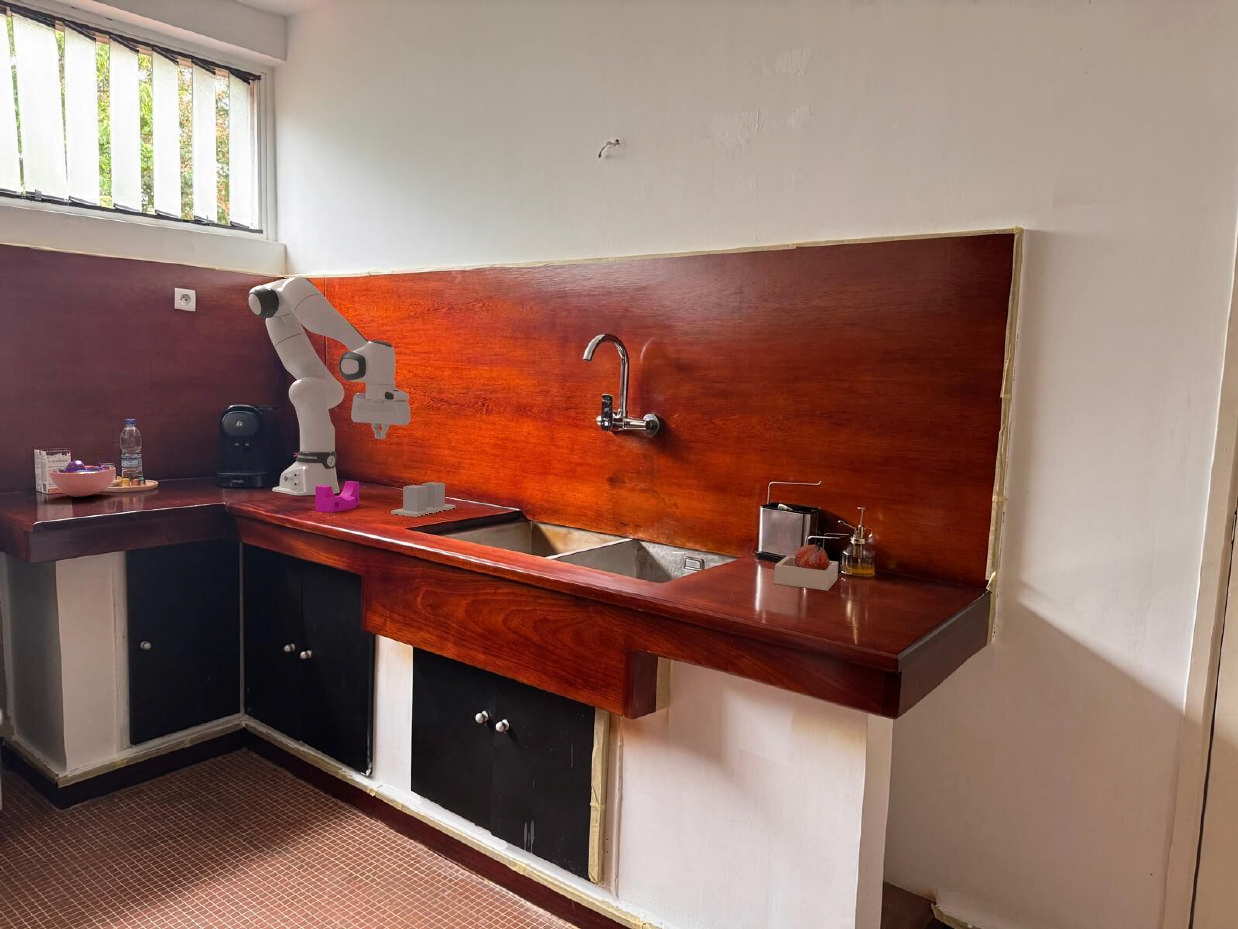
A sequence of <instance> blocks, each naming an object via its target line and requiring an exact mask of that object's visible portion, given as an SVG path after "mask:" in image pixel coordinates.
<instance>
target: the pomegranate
mask: <svg viewBox="0 0 1238 929" xmlns="http://www.w3.org/2000/svg"><path fill="white" fill-rule="evenodd" d="M794 557H795V564H796V566H798V567H801V568H809V569H817V570H826V569H827V568H828V567H829V561H830V560H829V557H828V553H827V552H826V550H825V549H824V548H822V547H821V543H820V542H818V543H817V544H808V545H807V544H806V545H803V546H801V547H800V548H799V549H798V550H797V551H796V553H795V555H794Z"/></svg>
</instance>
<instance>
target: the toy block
mask: <svg viewBox="0 0 1238 929" xmlns="http://www.w3.org/2000/svg"><path fill="white" fill-rule="evenodd" d="M357 505H358V506H359V505H360V482H359V481H352V480H349V481H347V480H346V481H344V487H343V489H342V491H341V492H340V494H339V495H335V494H334V493H333V490H332V486H324V485H320V486H316V495H315V512H319V513H320V512H321V513H329V514H331V513H336V512H342V511H343V512H344V511H348V510H353V508H354V509H356V507H358V506H357Z"/></svg>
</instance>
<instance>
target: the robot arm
mask: <svg viewBox="0 0 1238 929" xmlns="http://www.w3.org/2000/svg"><path fill="white" fill-rule="evenodd" d="M247 302H248V307H249V309H250V311H251V312H252V314H253V315H254V316H256V317H257V318H259V319H265V326H266V328H267V329H266V330H267V333H268V336H269V338H270V341H271V343H272V345H273V347H274V350H275V351H276V353H277V355H278V357H279V358H280V360H281V363H282V365H283V367H284V368H285V369H286V371H287V372H289V373H290V374H291V375H292V376H293V377H294V378H295V379H296V381H294V382H293V383H292V384H291V385H290V387H289V390H288V398H289V400H290V402H291V404H292V405H293V406H294V409H295V412H296V417H297V421H298V426H299V451H298V452H294V453H293V454H295V455H293V457H296V458H295V462H293V463H292V465H290V466H289V467H288V468H287V469H285V470H284V471H282V473H281V475H280V478H279V486H275V487H272V490H271V491H272V492H276V493H281V494H287V495H291V496H316V486H320V485H324V486H332V490H333V493H334V495H335V494H338V493H341V490H340V487H339V483H338V479H337V478H338V476H337V470H336V462H337V451H336V441H335V440H336V437H335V436H336V430H335V429H336V428H335V426H334V424H333V423H332V420H331V416H330V411H329V409H332V408H335V407H336V406H338V405H340V403H342V401H343V400H344V396H345V389H344V386H343V385H342V383H341V382H339V381H338V380H337V379H336V378H335V377H334V375H333V374H332V373H331V372H330V370H329V369H328V368H327V366H326V364H324V362H323V361H322V360H321V358H320V357H319V356H318V354H317V352H316V350H315V348H314V346H313V345H312V342H311V340H310V339H309V337H308V335H307V333H306V330H305V329H307V330H308V331H309V332H310V333H312V334H316V335H320V336H324V337H327V338H330V339H332V340H333V339H334V340H336V341H337V342H340V343H341V344H343V345H344V346H345V347H346V349H348V350H349V351H345V352H343V354H342V355H341V356H340V358H339V360H338V371H339V374H340V375H341V377H342V378H343V379H344V380H346V381H349V382H353V383H354V382H355V383H365V392H357V393H356V394H355V395H353V396H352V397H353V398H352V400H353V401H352V406H351V407H352V408H351V414H350V417H351V420H352V422H353V423H362V424H371V429H372V431H373V432H374V439H381V440H382V439H386V437H387V433H388V431H389V428H390V425H392V426H394V425H395V426H408V425H409V424H410V423H411V406H410V403H409V402H408V401H409V400H410V394H409V393H408V392H405V391H403V390H401V389H398V388H397V387H396V380H395V374H396V369H397V368H396V364H397V362H396V352H395V348H394V345H393V344H392V343H389V342H388V341H383V340H378V339H377V340H376V339H371V340H368V339H367V338H366V337H365V336H364V335H363V334H362V333H361V332H360V331H359V330H358V329H357V328H356V327H355V326H354V325H353V324H352V323H351V322H350V321H349V320H348V319H346V318H345V317H344V316H343V315H342V314H341V313H340V312H339V310H337V309H336V308H335V307H334V306H333V305H332V304H331V303H330V301H329V300H328V299H327V298H326V296H324V295H323V293H322V292H321V291H320V290H319V289H318V288H317V287H316V286H315V285H314V283H313V282H312V281H311V280H310V278H307V277H304V276H293V277H290V278H284V279H283V278H282V279H277V280H276V281H272V282H269V283H266V284H263V285H261V284H260V285H257V286H255V287H253V288H251V289H250V290H249V292H248V295H247ZM379 428H382V429H381V430H380V429H379Z"/></svg>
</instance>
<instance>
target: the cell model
mask: <svg viewBox="0 0 1238 929" xmlns="http://www.w3.org/2000/svg"><path fill="white" fill-rule="evenodd" d="M97 465H98V466H97ZM97 465H96V466H95V465H85V464H84V463H83V462H82V461H81V460H72V461H70V462H68V463H67V465H66V466H63V467H58V468H54V469H51V470H48V476H49V478H50V479H51V482H52V484H54V486H55V487H56V488H57V489H58V490H59V491H60V492H62V493H64V494H66V495H68V496H70V497H76V498H78V497H88V496H91V495H95V494H96V493H100V492H103V491H105V490H106V489H108V488H110V487H112V485H113V483H114V481H115V478H116V467H113V466H109V465H107V464H103V463H102V462H98V463H97Z"/></svg>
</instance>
